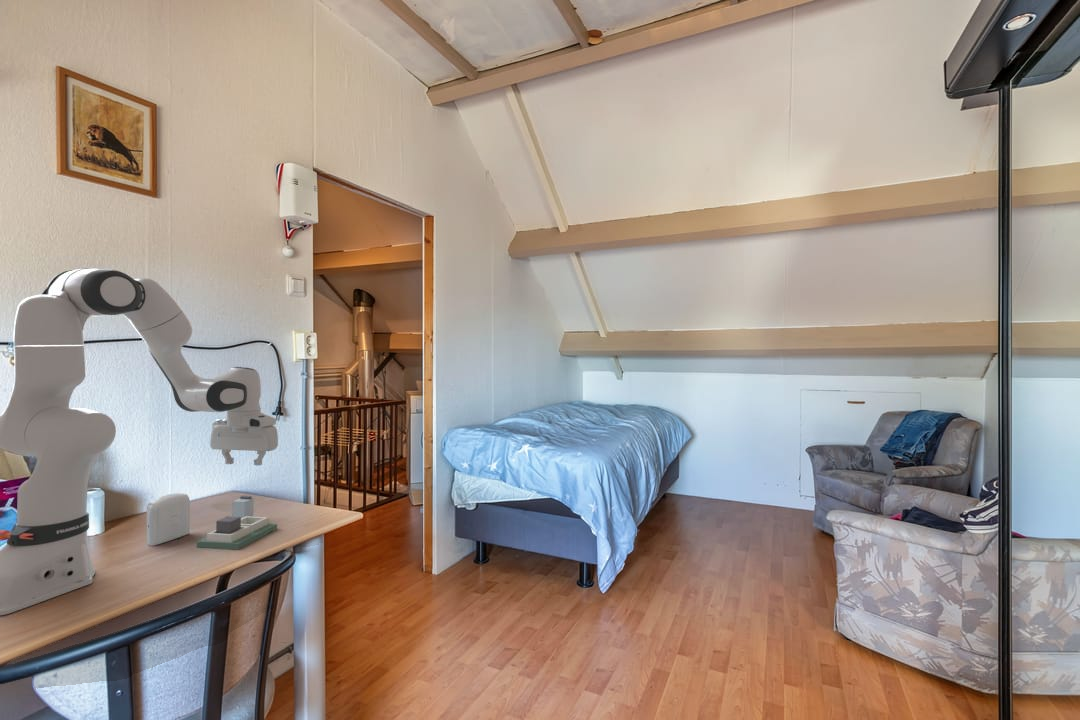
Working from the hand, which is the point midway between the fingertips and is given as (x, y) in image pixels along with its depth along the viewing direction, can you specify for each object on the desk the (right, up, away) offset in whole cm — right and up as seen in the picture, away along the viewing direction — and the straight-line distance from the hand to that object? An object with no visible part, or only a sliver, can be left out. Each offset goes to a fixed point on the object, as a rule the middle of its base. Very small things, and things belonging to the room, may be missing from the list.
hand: (243, 464), depth 151 cm
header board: (+6, -18, -13) cm, 23 cm away
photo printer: (-12, -18, -15) cm, 26 cm away
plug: (0, -18, 0) cm, 18 cm away
